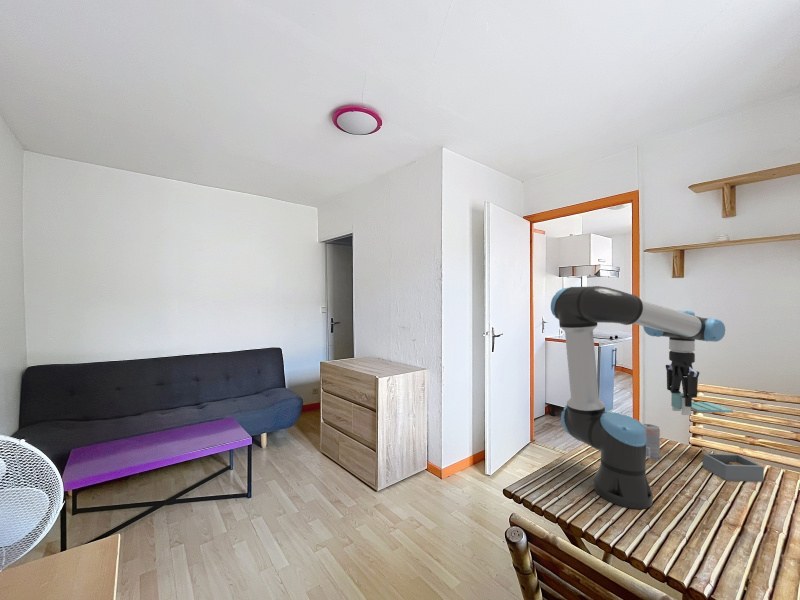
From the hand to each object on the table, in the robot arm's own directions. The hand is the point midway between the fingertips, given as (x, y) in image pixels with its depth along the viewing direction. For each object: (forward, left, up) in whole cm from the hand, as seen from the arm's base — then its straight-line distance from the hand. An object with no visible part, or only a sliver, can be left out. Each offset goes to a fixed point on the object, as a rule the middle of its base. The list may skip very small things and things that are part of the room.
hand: (681, 412), depth 129 cm
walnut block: (+10, -11, -17) cm, 23 cm away
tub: (+8, -12, -18) cm, 23 cm away
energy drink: (-11, 0, -18) cm, 21 cm away
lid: (+6, 0, +1) cm, 6 cm away
